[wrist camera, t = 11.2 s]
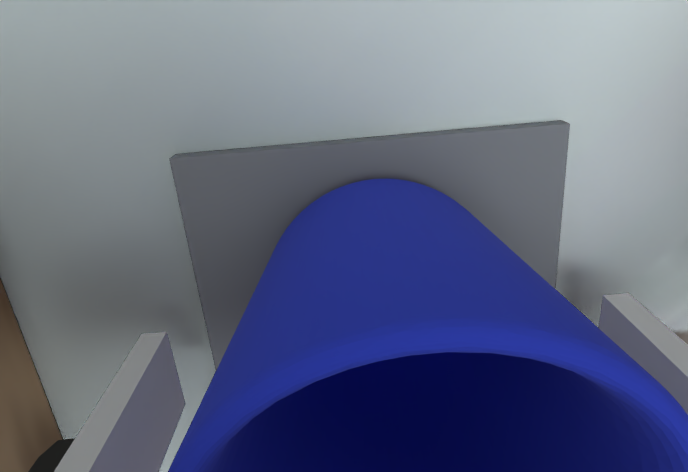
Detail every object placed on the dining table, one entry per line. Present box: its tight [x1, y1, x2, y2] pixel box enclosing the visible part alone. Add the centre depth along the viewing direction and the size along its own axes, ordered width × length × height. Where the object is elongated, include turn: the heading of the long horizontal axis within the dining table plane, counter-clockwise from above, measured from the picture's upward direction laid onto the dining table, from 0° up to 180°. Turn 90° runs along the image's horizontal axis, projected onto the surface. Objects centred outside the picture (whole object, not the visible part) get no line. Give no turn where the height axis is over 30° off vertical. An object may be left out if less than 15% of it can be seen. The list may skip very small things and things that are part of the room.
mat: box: [170, 120, 570, 370], centre depth 17 cm, size 12×12×1 cm
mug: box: [168, 179, 688, 472], centre depth 12 cm, size 8×12×10 cm
